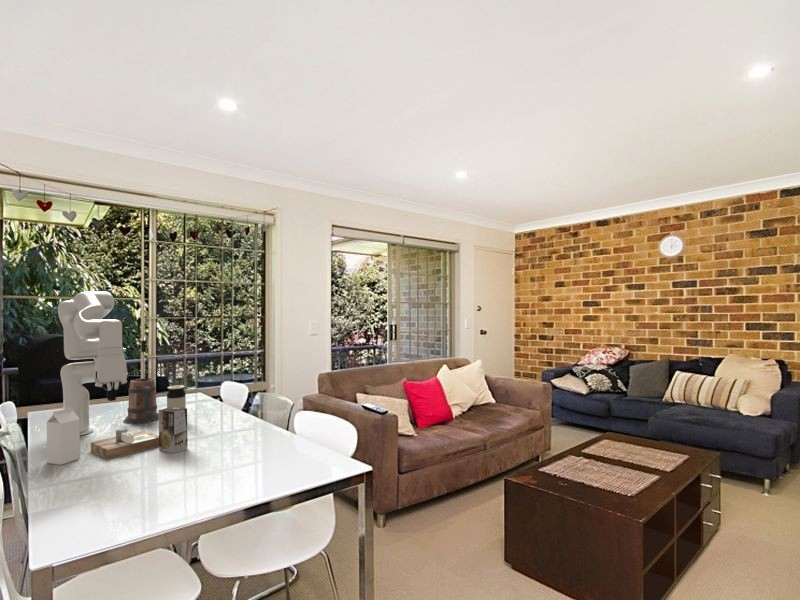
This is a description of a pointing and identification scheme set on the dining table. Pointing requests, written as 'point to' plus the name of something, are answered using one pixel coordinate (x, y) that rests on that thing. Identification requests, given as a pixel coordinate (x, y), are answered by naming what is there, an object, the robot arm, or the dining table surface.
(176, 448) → the coffee box
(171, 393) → the travel mug
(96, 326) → the robot arm
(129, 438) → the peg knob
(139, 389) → the tankard
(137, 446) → the board
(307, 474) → the dining table surface
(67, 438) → the milk carton
